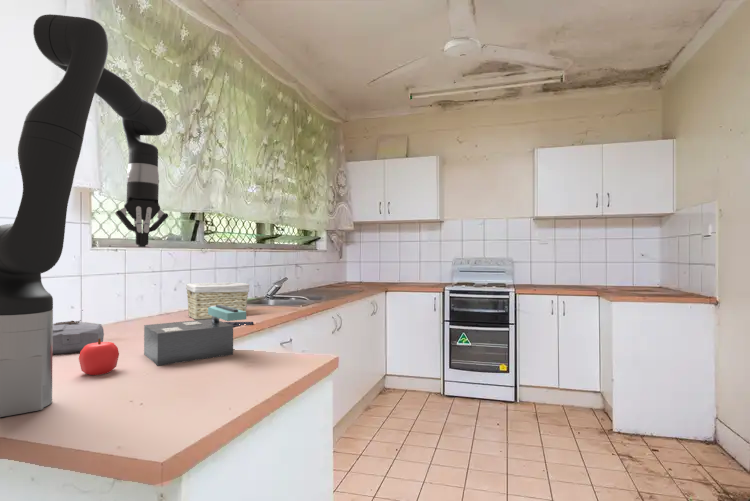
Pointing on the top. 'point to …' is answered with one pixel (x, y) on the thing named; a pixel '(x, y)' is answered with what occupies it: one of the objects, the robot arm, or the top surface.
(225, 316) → the bar
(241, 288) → the storage basket
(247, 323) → the squeegee
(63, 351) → the small grey backpack
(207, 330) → the box
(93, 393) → the top surface
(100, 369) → the apple
